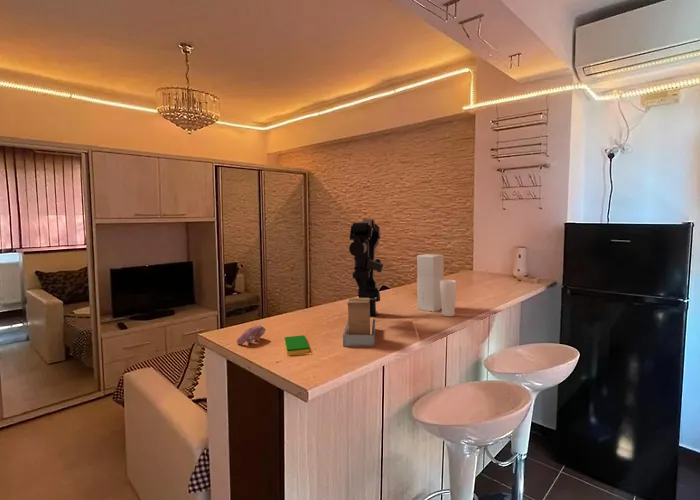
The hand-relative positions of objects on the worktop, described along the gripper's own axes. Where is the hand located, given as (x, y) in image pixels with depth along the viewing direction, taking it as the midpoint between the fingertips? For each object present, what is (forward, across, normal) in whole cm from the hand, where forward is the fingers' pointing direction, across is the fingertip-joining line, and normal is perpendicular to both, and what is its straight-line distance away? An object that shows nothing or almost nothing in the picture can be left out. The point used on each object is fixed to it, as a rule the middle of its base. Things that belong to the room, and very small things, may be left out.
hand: (362, 292), depth 156 cm
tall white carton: (+13, +26, -30) cm, 42 cm away
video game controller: (+13, -22, +38) cm, 46 cm away
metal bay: (+13, -19, 0) cm, 23 cm away
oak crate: (+12, -22, 0) cm, 25 cm away
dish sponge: (+14, -28, +21) cm, 38 cm away
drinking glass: (+13, +14, -36) cm, 41 cm away
